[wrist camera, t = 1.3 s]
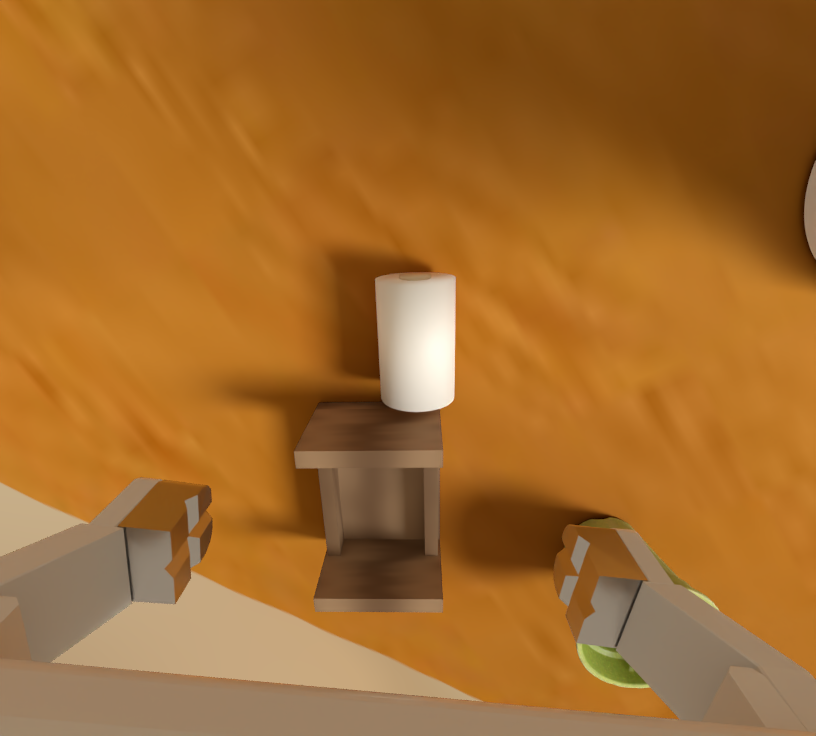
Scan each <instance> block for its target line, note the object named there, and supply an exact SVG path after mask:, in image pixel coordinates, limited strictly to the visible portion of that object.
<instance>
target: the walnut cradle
mask: <svg viewBox="0 0 816 736" xmlns="http://www.w3.org/2000/svg"><path fill="white" fill-rule="evenodd" d="M294 457H295V464H296V468H318V474H319V483H320V492H321V500H322V509H323V518H324V527H325V535H326V544H327V552H326V555H325V559H324V562H323V566H322V570H321V573H320V577H319V581H318V584H317V588H316V592H315V595H314V606H315V612H443V592H442V573H441V554H440V468H443V444H442V432H441V420H440V409H437V410H433V411H426V412H407V411H401V410H396V409H393V408H391V407H389V406H387V405H385V404H384V403H383V402H319V403H318V405H317V407H316V409H315V411H314V413H313V415H312V417H311V419H310V421H309V423H308V425H307V427H306V429H305V431H304V433H303V434H302V436H301V438H300V440H299V442H298V444H297V446H296V448H295V450H294Z"/></svg>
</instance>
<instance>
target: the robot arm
mask: <svg viewBox="0 0 816 736" xmlns="http://www.w3.org/2000/svg"><path fill="white" fill-rule="evenodd" d="M804 223H805V231H806V236H807V241H808V244H809V247H810V249H811V252H812V254H813V256H814V258H815V259H816V161H815V163H814V166H813V169H812V171H811V175H810V178H809V182H808V186H807V190H806V196H805V205H804ZM211 502H212V498H211V489H210V487H209V486H208V485H201V484H193V483H185V482H178V481H170V480H161V479H152V478H144V477H140V478H137V479H135V480H133V481H132V482H131V483H130V484H129V485H128V486H127V487H126V488H125V489H124V490H123V491H122V492H121V493H120V494H119V495H118V496H117V497H116V498H115V499H114V500H113V501H112V502H111V503H110V504H109V505H108V506H107V507H106V508H105V509H104V510H103V511H102V512H101V513H100V514H99V515H97V516H96V517H95V518H94V519H93V520H92V521H91V522H90V523H89V524H79V525H76V526H74V527H71V528H69V529H67V530H64V531H62V532H59V533H57V534H54V535H52V536H50V537H47V538H45V539H43V540H40V541H38V542H35V543H33V544H30V545H28V546H26V547H23V548H21V549H18V550H16V551H13V552H11V553H9V554H6V555H4V556H1V557H0V736H816V680H815V679H814V677H813V676H812V675H811V674H810V673H809V672H808V671H807V670H805V669H804V668H802V667H801V666H799V665H798V664H796V663H795V662H793V661H792V660H790V659H789V658H788V657H786V656H785V655H783V654H782V653H780V652H779V651H777V650H776V649H774V648H773V647H771V646H770V645H768V644H767V643H765V642H764V641H763V640H761V639H760V638H758V637H757V636H755V635H754V634H752V633H751V632H749V631H748V630H746V629H745V628H743V627H742V626H741V625H739V624H738V623H736V622H735V621H733V620H732V619H730V618H729V617H727V616H726V615H724V614H723V613H721V612H720V611H718V610H717V609H716V608H714V607H713V606H711V605H710V604H708V603H707V602H705V601H704V600H702V599H701V598H699V597H698V596H696V595H695V594H694V593H692V592H691V591H689V590H688V589H686V588H685V587H683V586H682V585H675V584H674V583H673V582H672V580H671V579H670V578H669V576H668V575H667V573H666V572H665V571H664V569H663V568H662V566H661V565H660V564H659V562H658V561H657V559H656V558H655V556H654V555H653V554H652V552H651V551H650V549H649V548H648V547H647V545H646V544H645V542H644V541H643V540H642V538H641V537H640V535H639V534H638V533H637V532H635V531H634V530H630V529H618V528H610V529H608V528H598V527H589V526H579V525H569V524H568V525H567V526H566V528H565V529H564V532H563V535H562V538H561V539H562V541H563V543H564V545H565V548H564V549H562V550H561V551H560V552H559V553H557V555H556V559H555V563H554V584H555V589H556V591H557V594H558V597H559V599H561V600H562V601H563V602H564V603H565V604H566V605H567V606H568V609H567V612H566V618H567V620H568V623H569V626H570V628H571V631H572V633H573V636H574V638H575V641H576V643H579V644H587V645H595V646H603V647H611V648H616V651H617V652H618V653H619V654H620V655H621V656H622V657H623V658H624V660H625V661H626V662H627V663H628V664H629V665H630V666H631V667H632V668H633V669H634V670H635V671H636V672H637V673H638V675H639V676H640V677H641V678H642V679H643V680H644V681H645V682H646V683H647V684H648V685H649V686H650V687H651V689H652V690H653V691H654V692H655V693H656V694H657V695H658V696H659V697H660V698H661V699H662V700H663V701H664V703H665V704H666V705H667V706H668V707H669V708H670V709H671V710H672V711H673V712H674V713H675V714H676V715H677V717H678V718H679V719H680V720H678V719H667V718H656V717H644V716H633V715H622V714H611V713H599V712H588V711H577V710H567V709H556V708H545V707H534V706H523V705H512V704H501V703H491V702H480V701H469V700H458V699H447V698H436V697H424V696H414V695H403V694H390V693H380V692H370V691H358V690H347V689H337V688H325V687H314V686H303V685H291V684H281V683H269V682H259V681H248V680H237V679H226V678H215V677H204V676H192V675H181V674H171V673H159V672H149V671H138V670H126V669H115V668H104V667H94V666H83V665H72V664H61V663H50V662H52V661H53V660H54V659H56V658H57V657H59V656H60V655H61V654H63V653H64V652H66V651H67V650H68V649H70V648H71V647H73V646H74V645H75V644H77V643H78V642H79V641H81V640H82V639H84V638H85V637H86V636H88V635H89V634H91V633H92V632H93V631H95V630H96V629H97V628H99V627H100V626H102V625H103V624H104V623H106V622H107V621H109V620H110V619H111V618H113V617H114V616H115V615H117V614H118V613H120V612H121V611H122V610H124V609H125V608H127V607H128V606H129V605H130V604H132V601H134V602H149V603H164V604H176V602H177V600H178V599H179V597H180V595H181V594H182V592H183V591H184V589H185V587H186V585H187V584H188V582H189V581H190V579H191V569H190V568H191V567H193V566H195V565H196V564H198V563H200V562H201V560H202V558H203V557H204V555H205V553H206V551H207V548H208V545H209V542H210V539H211V534H212V517H211V516H210V515H209V513H208V512H207V511H206V509H207V508H208V506H209V505H210V503H211Z"/></svg>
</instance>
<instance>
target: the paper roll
mask: <svg viewBox="0 0 816 736" xmlns="http://www.w3.org/2000/svg"><path fill="white" fill-rule="evenodd" d="M375 290H376V309H377V328H378V347H379V366H380V386H381V399H382V402H383V403H384V404H385V405H387V406H389V407H391V408H393V409H396V410H401V411H407V412H426V411H433V410H437V409H440V408H443V407H445V406H447V405H449V404H450V403H451V402H452V401H453V400H454V386H455V291H456V277H455V276H453V275H450V274H445V273H436V272H406V273H395V274H388V275H383V276H379V277H377V278H376V279H375Z"/></svg>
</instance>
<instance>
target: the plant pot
mask: <svg viewBox="0 0 816 736" xmlns="http://www.w3.org/2000/svg"><path fill="white" fill-rule="evenodd" d="M579 526H589V527H598V528H608V529H610V528H618V529H630V530H634V529H633V528H632V527H631V526H630V525H629V524H628V523H626V522H624V521H622V520H620V519H617V518H612V517H609V518H607V519H590V520H587V521H585V522H583V523H581V524H579ZM634 531H635V530H634ZM635 532H636V531H635ZM642 540H643V539H642ZM643 541H644V540H643ZM644 542H645V541H644ZM645 544H646V545H647V547H648V548H649V549H650V551H651V552H652V554H653V555H654V556H655V558H656V559H657V561H658V562H659V564H660V565H661V566H662V568H663V569H664V571H665V572H666V573H667V575H668V576H669V578H670V579H671V580H672V582H673V583H674V584H675V585H682V586H683V587H685V588H686V589H688V590H689V591H691V592H692V593H694V594H695V595H696V596H698V597H699V598H701V599H702V600H704V601H705V602H707V603H708V604H710V605H711V606H713V607H714V608H716V609H717V610H718V608H717V607H716V606H715V604H714V603H713V602H712V601H711V600H710V599H709V598H708V597H707V596H705V595H704V594H702V593H701V592H699V591H697V590H695V589H693V588H692V587H691V586H690V585H689V584H687V583H686V582H685V581H683V580H682V579H680V578H678V577H677V576H676V575H675V573H674V572H673V571H672V570H671V569H670V568H669V567H668V566H667V565H666V564H665V563H664V562H663V561H662V560H661V559H660V558H659V557H658V555H657V554H656V553H655V552H654V551H653V550H652V549H651V548H650V547H649V546H648V544H647V543H646V542H645ZM564 548H565V545H564ZM718 611H719V610H718ZM576 648H577V652H578V655H579V658H580V660H581V662H582V664H583V665H584V666H585V668H586V669H587V670H588V671H589V672H590V673H591V674H593V675H594V676H596V677H598V678H599V679H601V680H602V681H605V682H607V683H610V684H614V685H617V686H620V687H628V688H648V687H650V686H649V685H648V684H647V683H646V682H645V681H644V680H643V679H642V678H641V677H640V676H639V675H638V673H637V672H636V671H635V670H634V669H633V668H632V667H631V666H630V665H629V664H628V663H627V662H626V661H625V660H624V658H623V657H622V656H621V655H620V654H619V653H618V652H617V651H616V648H611V647H603V646H595V645H587V644H579V643H576Z"/></svg>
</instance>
